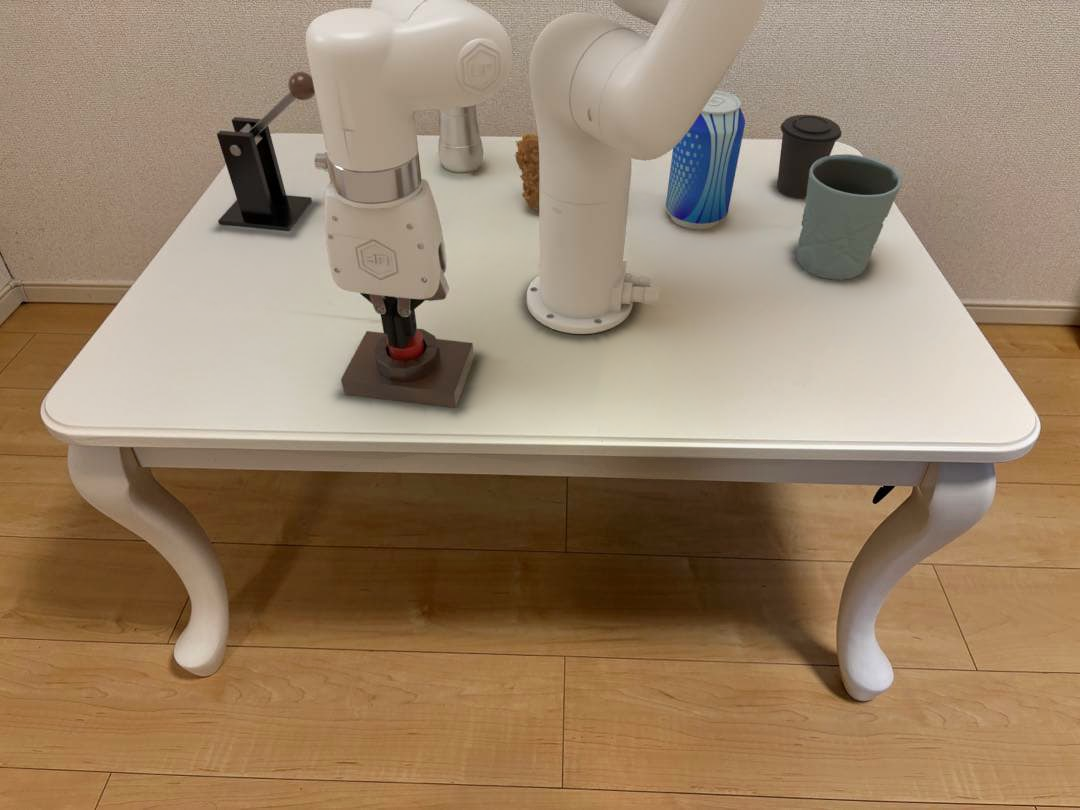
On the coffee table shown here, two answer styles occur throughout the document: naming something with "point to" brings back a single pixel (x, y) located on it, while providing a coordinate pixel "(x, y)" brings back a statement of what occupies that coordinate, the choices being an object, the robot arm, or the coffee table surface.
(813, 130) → the coffee cup
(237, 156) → the bracket
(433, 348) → the button block
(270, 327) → the coffee table surface
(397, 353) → the button
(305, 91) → the lever
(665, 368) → the coffee table surface
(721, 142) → the beer can
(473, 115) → the silver metal bottle
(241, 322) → the coffee table surface
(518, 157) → the fried chicken
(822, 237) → the green embossed tumbler
